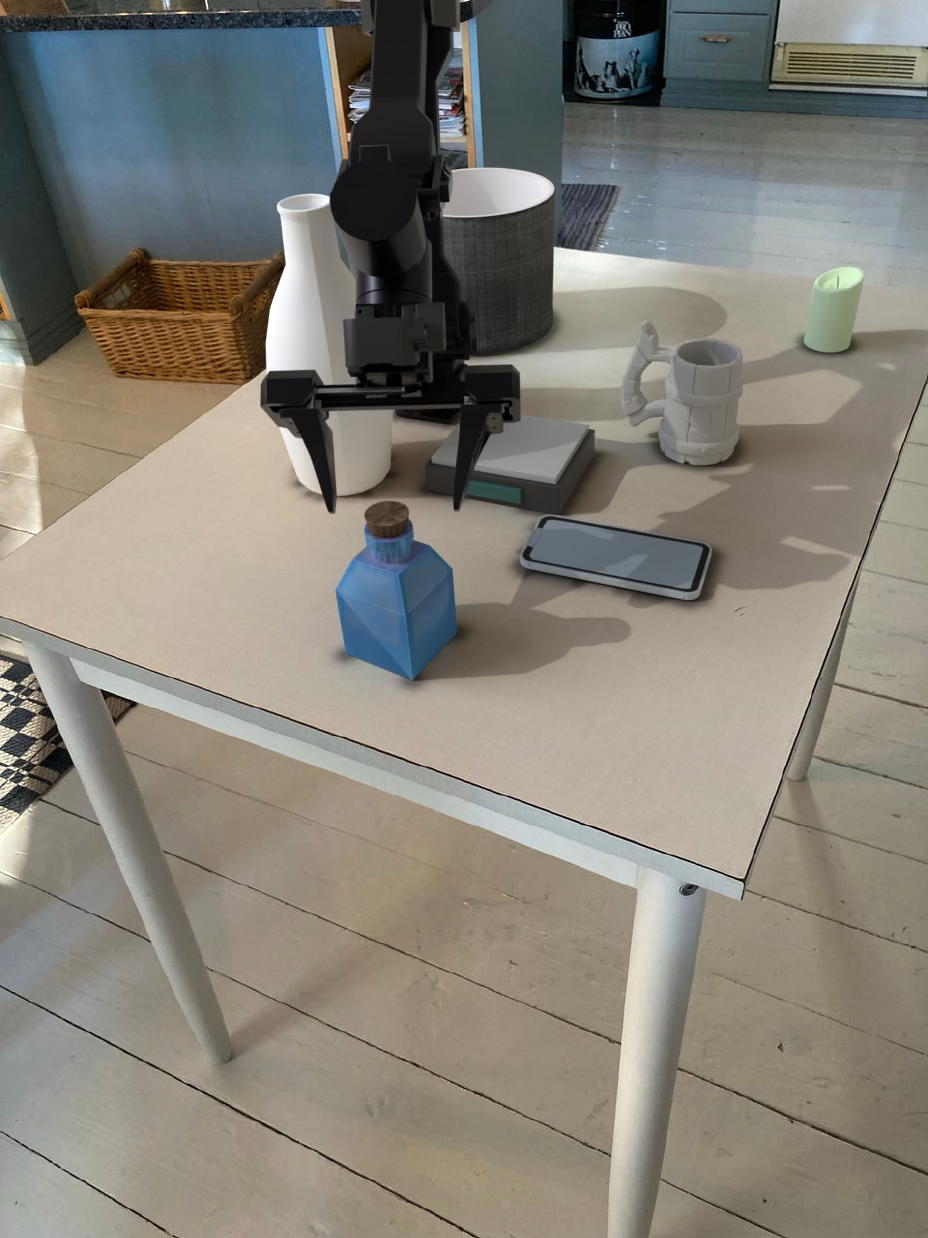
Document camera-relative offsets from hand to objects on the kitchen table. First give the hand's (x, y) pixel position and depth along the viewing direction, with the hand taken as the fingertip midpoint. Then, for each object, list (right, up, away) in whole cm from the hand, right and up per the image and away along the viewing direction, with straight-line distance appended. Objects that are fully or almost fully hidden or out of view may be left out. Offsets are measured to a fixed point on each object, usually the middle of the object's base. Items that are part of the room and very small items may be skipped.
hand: (393, 511), depth 73 cm
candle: (+46, +23, +41) cm, 66 cm away
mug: (+26, +9, +25) cm, 37 cm away
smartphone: (+18, -3, +11) cm, 21 cm away
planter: (+7, +28, +49) cm, 57 cm away
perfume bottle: (0, -10, +4) cm, 11 cm away
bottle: (-7, +6, +24) cm, 26 cm away
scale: (+10, +6, +22) cm, 25 cm away
